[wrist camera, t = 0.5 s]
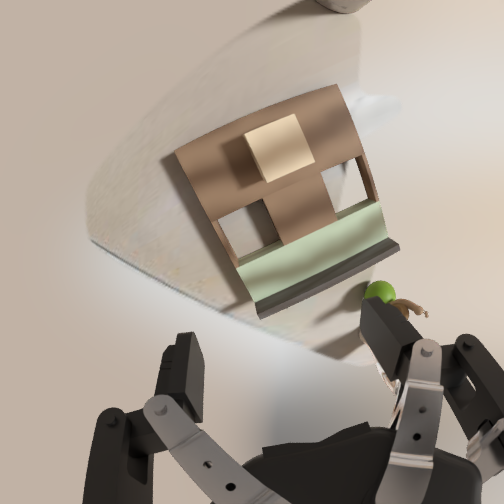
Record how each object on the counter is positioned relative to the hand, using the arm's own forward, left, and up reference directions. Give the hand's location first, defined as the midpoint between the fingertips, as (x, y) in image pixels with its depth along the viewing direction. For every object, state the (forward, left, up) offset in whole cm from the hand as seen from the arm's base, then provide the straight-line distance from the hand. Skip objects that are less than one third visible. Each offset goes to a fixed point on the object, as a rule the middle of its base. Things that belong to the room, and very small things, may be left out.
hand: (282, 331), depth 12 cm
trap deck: (-4, +6, -25) cm, 26 cm away
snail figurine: (+5, +26, -26) cm, 37 cm away
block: (-9, +1, -23) cm, 25 cm away
